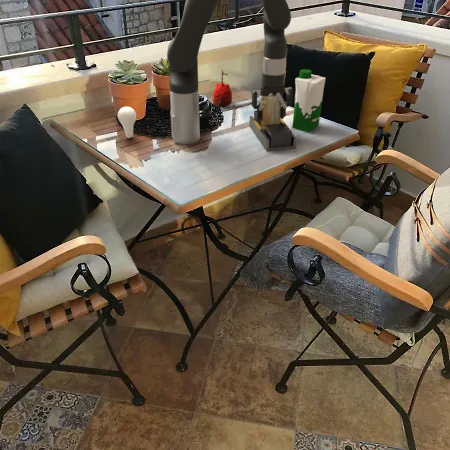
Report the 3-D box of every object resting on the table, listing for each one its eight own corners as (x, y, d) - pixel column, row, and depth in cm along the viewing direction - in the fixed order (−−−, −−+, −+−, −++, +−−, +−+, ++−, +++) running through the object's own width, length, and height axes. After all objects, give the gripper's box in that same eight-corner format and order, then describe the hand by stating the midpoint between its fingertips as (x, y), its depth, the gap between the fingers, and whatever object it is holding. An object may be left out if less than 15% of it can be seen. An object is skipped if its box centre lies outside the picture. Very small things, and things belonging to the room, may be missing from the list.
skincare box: (269, 124, 167) (271, 89, 160) (280, 126, 165) (282, 92, 158) (259, 129, 163) (261, 95, 156) (270, 133, 161) (273, 98, 154)
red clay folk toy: (232, 102, 191) (233, 65, 183) (230, 109, 186) (231, 70, 177) (214, 102, 192) (213, 64, 184) (211, 108, 186) (211, 70, 178)
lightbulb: (142, 136, 165) (138, 105, 158) (132, 142, 160) (128, 111, 154) (127, 133, 167) (123, 102, 160) (117, 139, 162) (112, 108, 156)
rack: (266, 151, 155) (267, 134, 152) (249, 126, 172) (249, 110, 168) (295, 148, 157) (297, 131, 154) (275, 124, 174) (276, 108, 170)
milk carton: (300, 120, 176) (306, 66, 165) (322, 126, 172) (329, 71, 160) (288, 128, 171) (293, 72, 159) (310, 134, 166) (317, 77, 155)
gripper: (255, 75, 148) (253, 125, 158) (298, 72, 151) (294, 121, 160) (249, 68, 154) (247, 116, 164) (291, 65, 157) (287, 113, 166)
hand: (270, 118), depth 162 cm, fingers closed on skincare box, 7 cm apart
